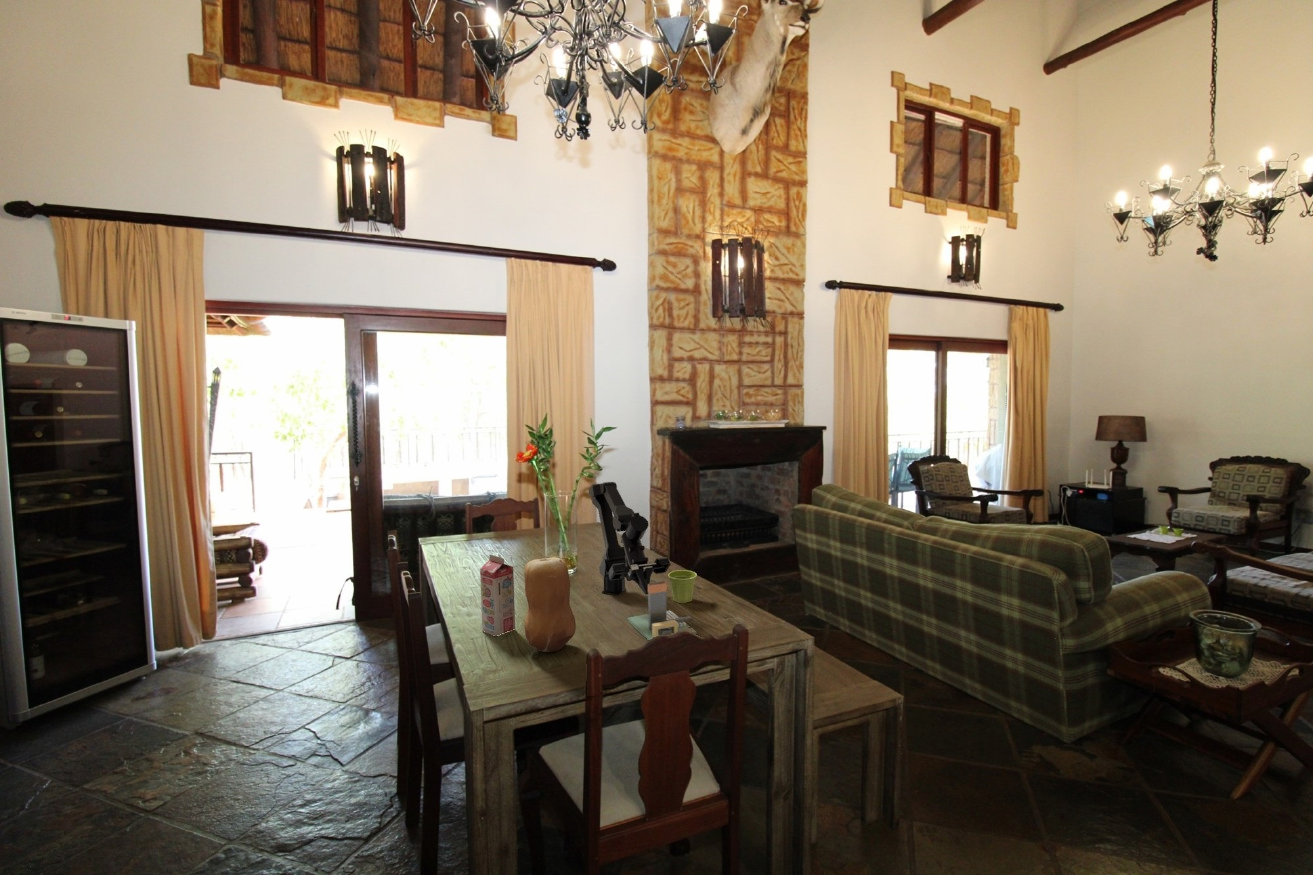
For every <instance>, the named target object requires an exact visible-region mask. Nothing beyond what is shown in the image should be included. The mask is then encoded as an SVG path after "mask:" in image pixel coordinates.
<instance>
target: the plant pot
mask: <svg viewBox="0 0 1313 875" xmlns="http://www.w3.org/2000/svg"><path fill="white" fill-rule="evenodd" d="M667 576H668V578H669V582H670V586H671V592H672V599H673V601H674V602H676V603H679V604H687V603H688V602H689V603H690V602H692V601H693V594H694V587H695V581H696V578H697V576H698V575H697V573H696V572H695V571H692V570H687V569H685V570H683V569H680V570H673V571H670V572H669V573H668V574H667Z"/></svg>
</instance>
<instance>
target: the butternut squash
mask: <svg viewBox="0 0 1313 875" xmlns="http://www.w3.org/2000/svg"><path fill="white" fill-rule="evenodd" d="M569 574H570V573H569V568H568V566H567V563H566V562H565V561H564V559H562V558H560V557H546V558H535V559H532V560H529V561H528V562H526V564H525V566H524V572H523V576H524V592H525V593H524V594H525V598H526V601H527V606H528V609H527V614H526V616H525V620H524V634H525V635H524V636H525V638H526V641H527V642H528V644H529V646H530V647H532V648H535V649H536V650H537V651H539V652H544V653H550V652H551V651H555V652H558V651H560V650H561V649H562V648H564V646H565V645H566V644H568V642H569V641H571V639H572V638H573V637H574V636H575V633H576V628H577V622H576V618H575V615H574V613H573V610H572V608H571V604H570V600H571V598H570V597H571V595H570V594H571V579H570V575H569Z"/></svg>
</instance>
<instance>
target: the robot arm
mask: <svg viewBox="0 0 1313 875" xmlns="http://www.w3.org/2000/svg"><path fill="white" fill-rule="evenodd" d="M588 496H589V497H590V500H591V503H592V505H594V507H595V508H596V509H597V510H598V511H597V512H598V517H599V521H600V527H601V532H602V537H603V541H604V548H605V549H604V552H603V554H602V561H601V563H600V565H599V574H600V575H601V576H602V577H603V590H602V591H601V594H606V595H615V596H619V595H621V594H622V593H623V592H625V591H626V590H627V588H626V581H627V582H631V581H633V582H634V583H636V584H637V586H639V588H640V589H641V591H642V592H643V594H644V595H645V596H646V595H647V596H648V584H651V576H652V574H653V573H654V574H655V575H659V574H665V573H666V572H667V571H668V569H670V568H669V567H670V566H671V564H672V563H671V561H670V558H668V557H667V556H662V557H657V558H655V560H654V561H653V562H651V563H648V561H649V557H648V556H646V554H645V549H646V548H645V545H643V543H642V541H641V540H642V539H643V538H644V536H645V534H646V532H647V530H648V527H649V524H650V523H649V520H647V519H646V517H645V516H643V515H640V512H635V511H634V510H633V509H632V508H630V507H628V506H627V505H626V503H625V501H624V499H623V498H622V495H621V494H620V491H619V490H618V486H617V483H616V482H614V481H606V482H602V483H592V484H591V486H590V487H589V488H588ZM618 532H623V533H622V534H621V536H620V543H621V544H622V546H621V545H620V544H619V539H618V534H617V533H618Z"/></svg>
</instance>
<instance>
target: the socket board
mask: <svg viewBox="0 0 1313 875" xmlns="http://www.w3.org/2000/svg"><path fill="white" fill-rule="evenodd" d="M676 618H680V617H679V616H678V615H677V614H676V613H674V612H673V611H671V610H666V620H670V619H676ZM627 621H628V623H629V624H631V625H632V626H633V627H634V628H635V629H636V630H637V631H638V632H639V634H641V633H642V634H641V636H643V635H644V636H643V637H644V638H645V637H646V638H647V639H646V638H645V639H646V640H647V641H648V640H650V639H652V638H653V637H656V636H658V635H659V634H658V629H663V628H668V627H669V628H671V629H672V633H676V632H678V631H683V630H687V629H683V628H685V627H691V626H690V625H689V624H688V623H686V622H685V621H680V622H677V621H675V620H671V621H665V622H659V623H654V624H652V630H650V629H649V623H648V614H647V613H646V614H641V615H635V616H630V617H627ZM691 629H692V632H694V633H696V634H697V631H696V630H695V629H694V628H692V627H691Z"/></svg>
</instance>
